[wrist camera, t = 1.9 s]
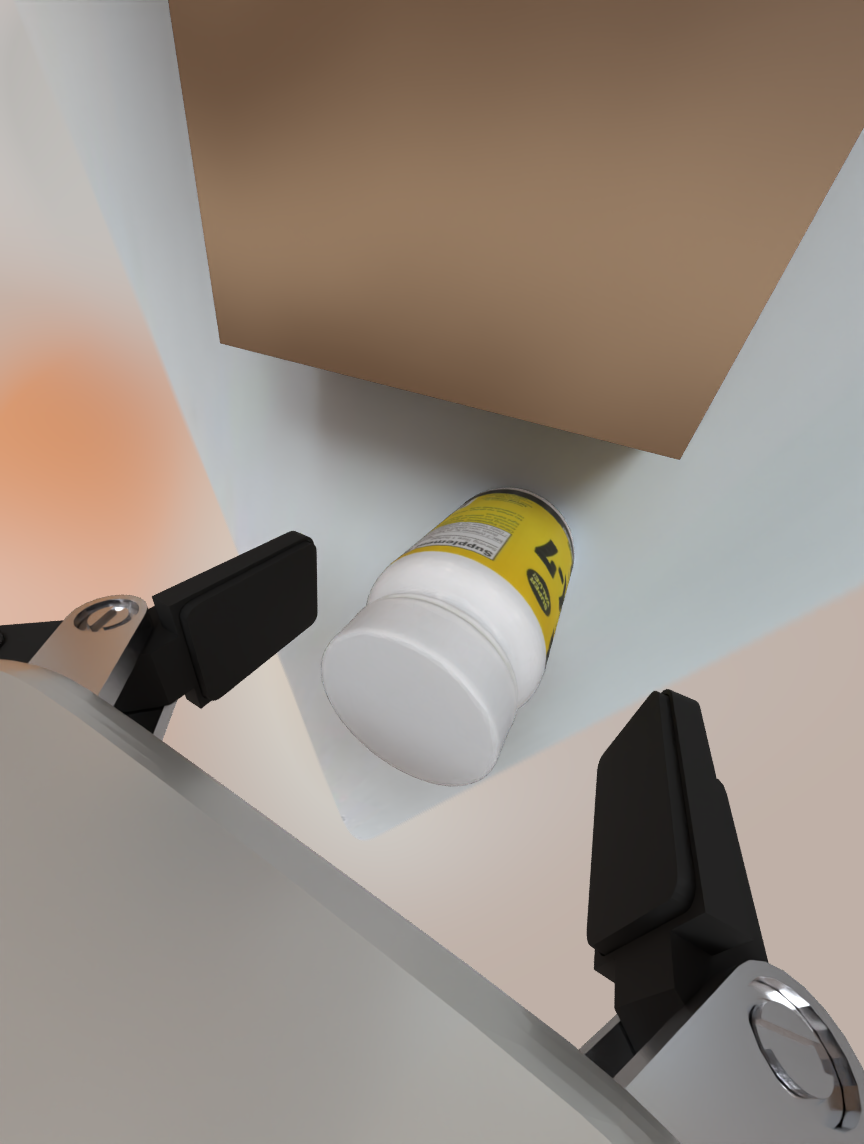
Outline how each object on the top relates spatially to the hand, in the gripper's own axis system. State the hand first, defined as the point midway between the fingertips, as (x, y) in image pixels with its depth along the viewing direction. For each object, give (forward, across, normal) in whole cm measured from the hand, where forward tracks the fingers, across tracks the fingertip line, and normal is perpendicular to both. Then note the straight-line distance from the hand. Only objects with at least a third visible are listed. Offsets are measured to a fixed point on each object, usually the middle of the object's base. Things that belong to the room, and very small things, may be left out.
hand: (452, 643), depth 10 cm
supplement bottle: (+6, 0, -1) cm, 6 cm away
